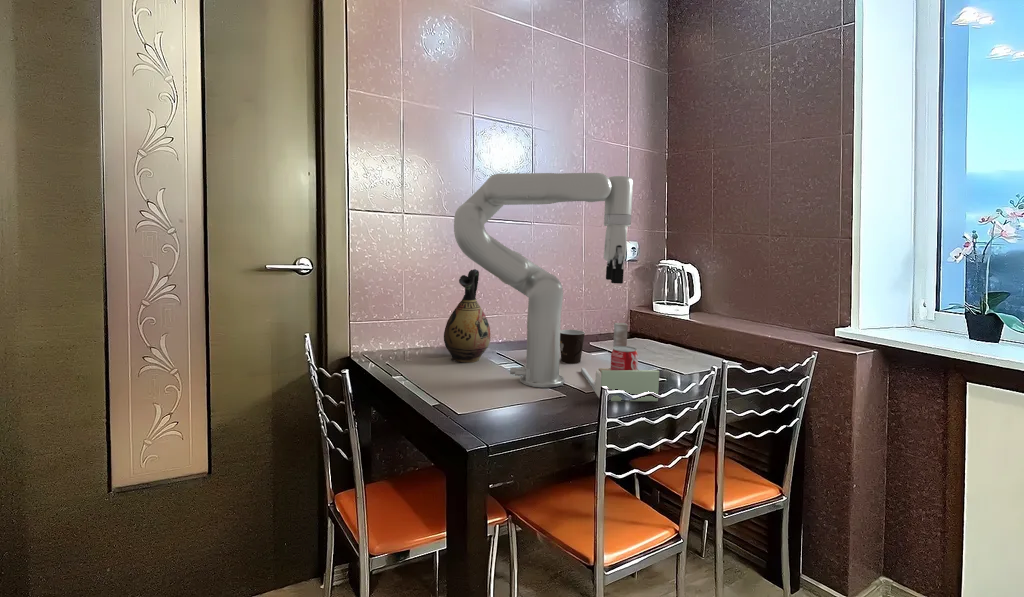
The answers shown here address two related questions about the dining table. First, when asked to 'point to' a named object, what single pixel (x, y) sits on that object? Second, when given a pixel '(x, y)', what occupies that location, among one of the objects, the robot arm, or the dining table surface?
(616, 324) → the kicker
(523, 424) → the dining table surface
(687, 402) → the dining table surface
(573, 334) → the coffee mug
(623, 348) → the soda can
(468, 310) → the ceramic jug
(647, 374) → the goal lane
